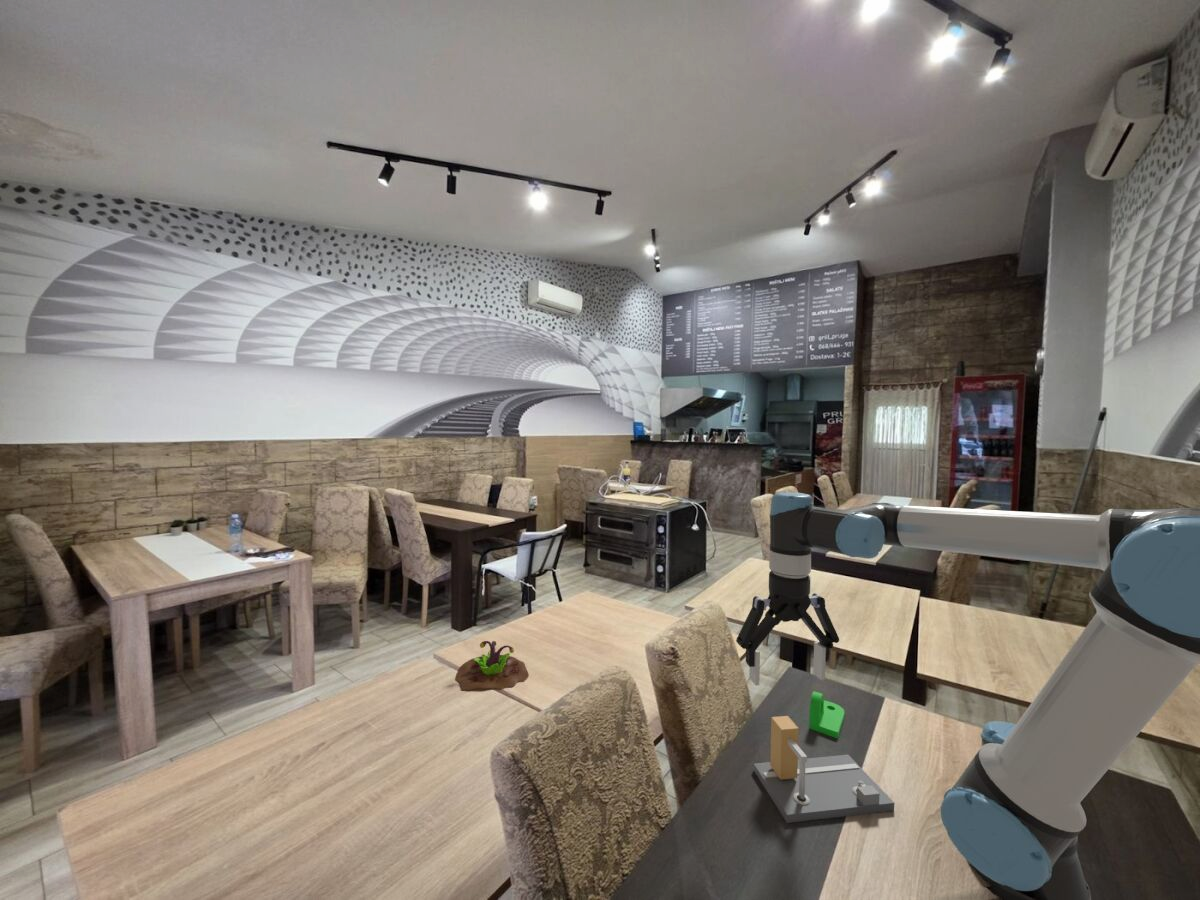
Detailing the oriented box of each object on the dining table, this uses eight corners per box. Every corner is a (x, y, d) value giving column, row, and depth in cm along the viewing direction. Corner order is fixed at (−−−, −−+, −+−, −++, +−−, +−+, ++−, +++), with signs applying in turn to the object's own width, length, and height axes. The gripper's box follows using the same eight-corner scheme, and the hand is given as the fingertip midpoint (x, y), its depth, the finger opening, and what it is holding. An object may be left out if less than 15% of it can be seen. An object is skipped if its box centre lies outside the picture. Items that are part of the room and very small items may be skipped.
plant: (454, 666, 140) (454, 629, 139) (521, 657, 145) (521, 621, 145) (455, 705, 121) (454, 661, 120) (532, 692, 126) (532, 651, 126)
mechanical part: (837, 741, 108) (838, 706, 107) (809, 731, 111) (810, 697, 111) (846, 714, 117) (847, 683, 117) (819, 706, 121) (820, 675, 120)
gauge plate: (894, 810, 88) (894, 792, 88) (787, 822, 85) (787, 804, 85) (847, 761, 101) (848, 745, 100) (753, 770, 98) (754, 754, 98)
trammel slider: (812, 797, 88) (813, 745, 88) (794, 799, 88) (795, 746, 87) (786, 763, 97) (787, 715, 97) (770, 765, 97) (771, 717, 96)
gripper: (836, 564, 98) (833, 665, 99) (720, 569, 95) (718, 673, 96) (861, 575, 91) (857, 684, 92) (736, 581, 87) (734, 694, 88)
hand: (786, 679), depth 94 cm, fingers open, 13 cm apart
